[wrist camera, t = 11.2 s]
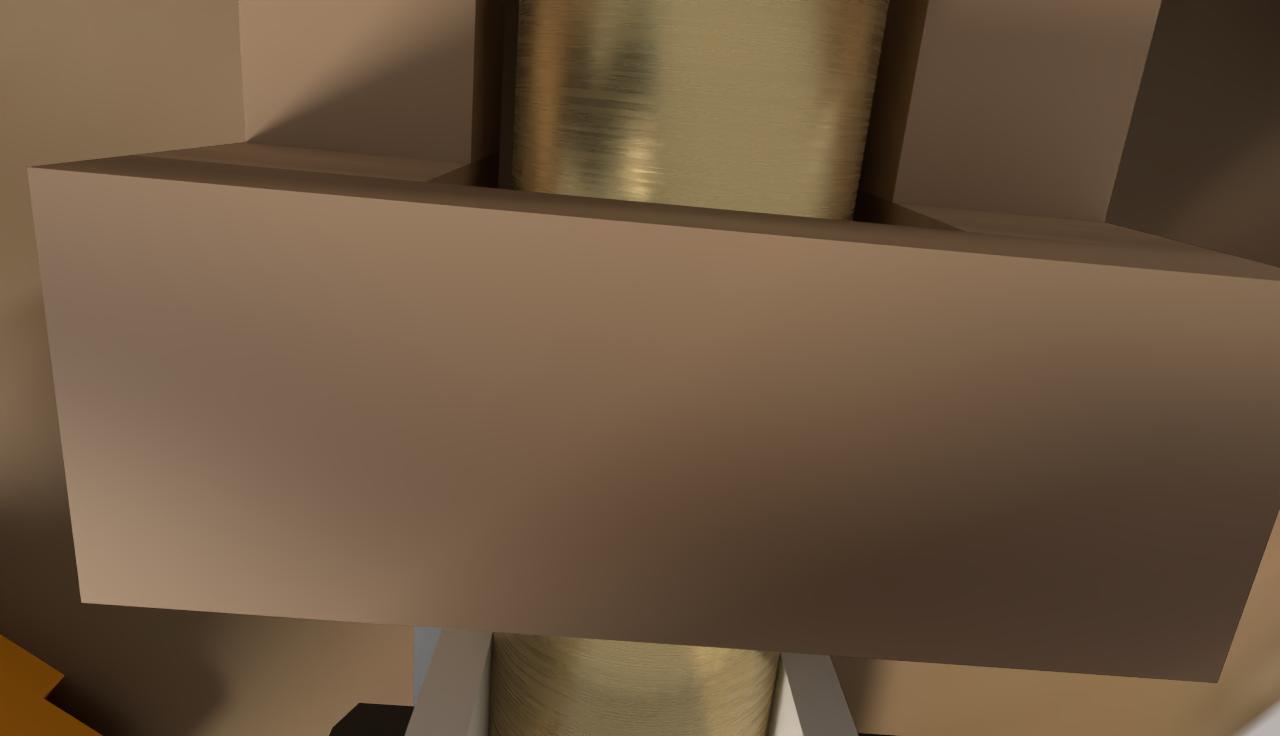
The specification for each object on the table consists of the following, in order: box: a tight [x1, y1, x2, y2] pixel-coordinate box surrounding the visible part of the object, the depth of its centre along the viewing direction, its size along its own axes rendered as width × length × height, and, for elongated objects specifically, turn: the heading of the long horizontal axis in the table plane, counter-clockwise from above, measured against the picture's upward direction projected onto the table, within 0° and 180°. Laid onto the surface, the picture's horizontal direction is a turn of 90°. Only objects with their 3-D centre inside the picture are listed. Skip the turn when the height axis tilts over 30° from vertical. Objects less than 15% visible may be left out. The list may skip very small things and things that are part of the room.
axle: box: [489, 0, 889, 736], centre depth 12 cm, size 14×4×4 cm, turn 175°
